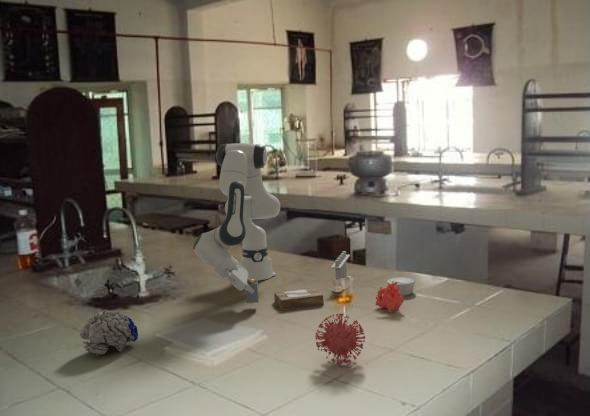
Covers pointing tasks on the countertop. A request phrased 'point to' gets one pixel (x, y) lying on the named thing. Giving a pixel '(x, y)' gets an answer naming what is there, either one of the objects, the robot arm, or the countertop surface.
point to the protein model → (389, 297)
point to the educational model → (108, 332)
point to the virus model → (340, 338)
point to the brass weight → (251, 281)
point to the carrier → (253, 297)
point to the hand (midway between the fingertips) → (253, 289)
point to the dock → (298, 298)
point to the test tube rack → (340, 267)
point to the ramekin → (403, 285)
